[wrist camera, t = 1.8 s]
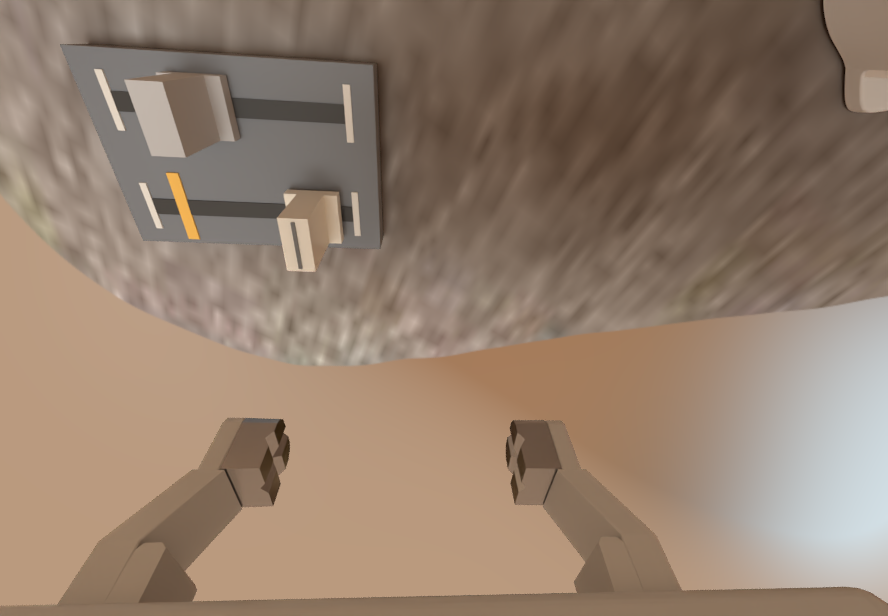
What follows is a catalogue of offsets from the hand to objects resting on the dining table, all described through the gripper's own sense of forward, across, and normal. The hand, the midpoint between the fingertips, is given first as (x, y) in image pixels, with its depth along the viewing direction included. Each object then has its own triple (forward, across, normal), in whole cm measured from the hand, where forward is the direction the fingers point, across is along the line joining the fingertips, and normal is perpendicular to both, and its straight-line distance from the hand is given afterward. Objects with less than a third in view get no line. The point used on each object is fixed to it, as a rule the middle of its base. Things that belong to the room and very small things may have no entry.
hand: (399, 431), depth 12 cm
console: (+19, +10, -3) cm, 22 cm away
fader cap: (+17, +6, 0) cm, 18 cm away
